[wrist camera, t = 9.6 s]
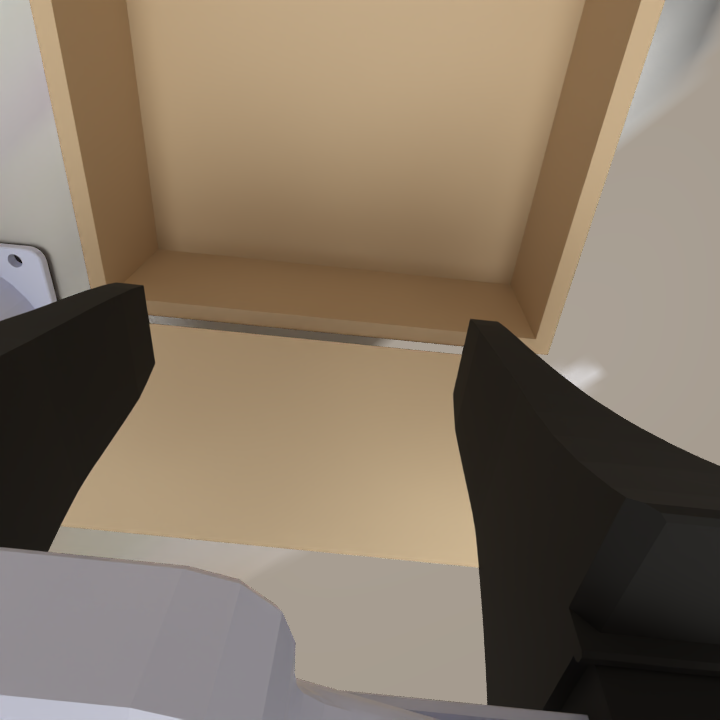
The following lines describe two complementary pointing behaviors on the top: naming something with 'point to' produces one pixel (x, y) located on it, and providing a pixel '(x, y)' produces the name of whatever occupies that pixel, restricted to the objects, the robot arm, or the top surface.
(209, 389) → the flap
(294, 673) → the robot arm
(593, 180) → the carton
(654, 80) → the top surface
